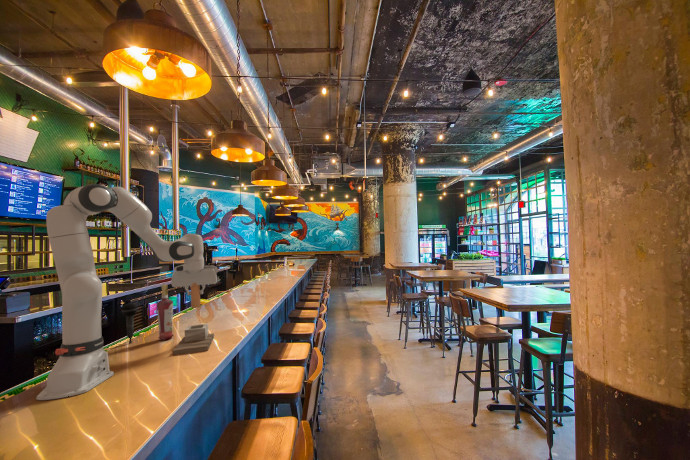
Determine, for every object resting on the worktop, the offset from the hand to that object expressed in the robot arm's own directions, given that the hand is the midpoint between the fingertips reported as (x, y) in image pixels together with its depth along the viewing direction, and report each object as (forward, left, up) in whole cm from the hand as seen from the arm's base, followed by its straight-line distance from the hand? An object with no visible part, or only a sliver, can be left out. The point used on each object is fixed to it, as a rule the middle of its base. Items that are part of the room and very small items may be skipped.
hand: (195, 294), depth 155 cm
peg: (0, 0, -6) cm, 6 cm away
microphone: (+14, +33, -23) cm, 43 cm away
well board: (-5, 0, -23) cm, 24 cm away
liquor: (+14, +17, -23) cm, 32 cm away
